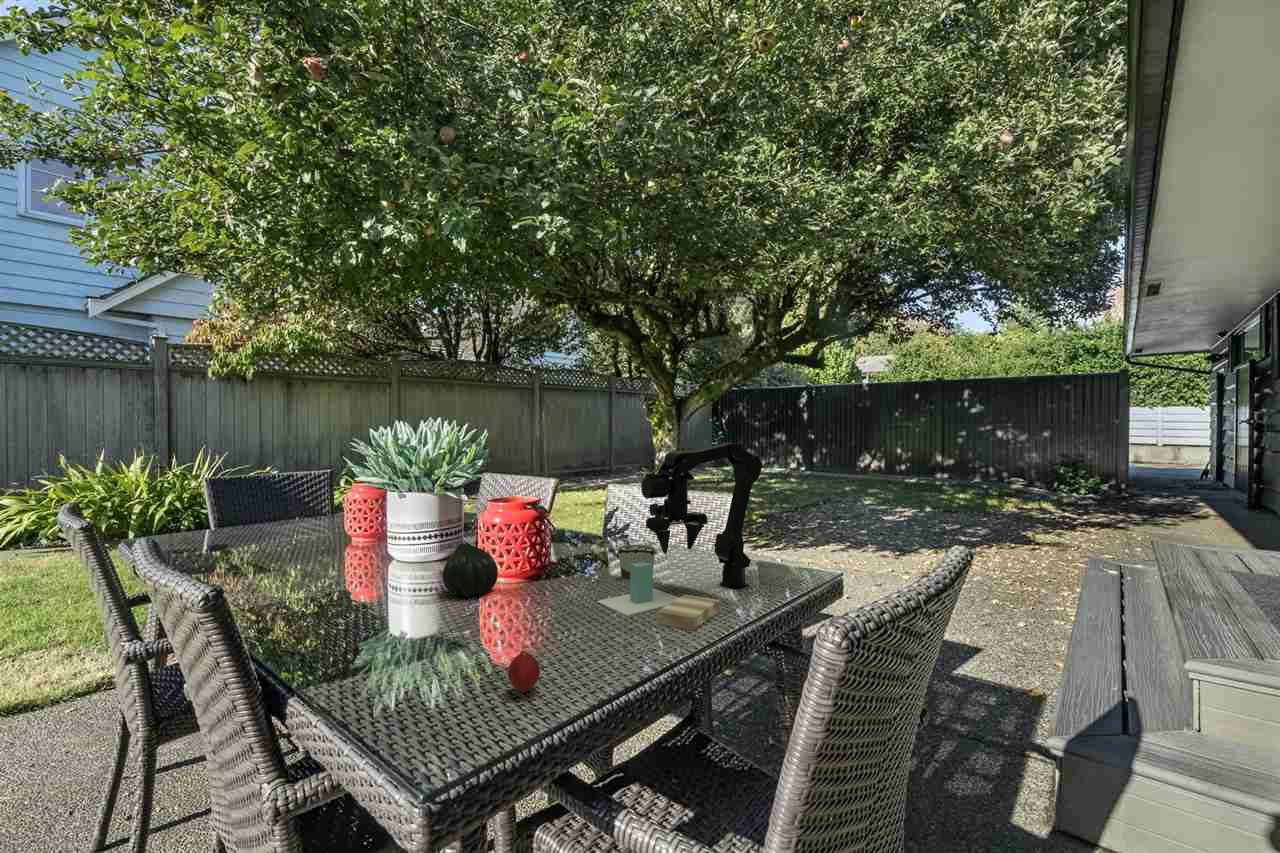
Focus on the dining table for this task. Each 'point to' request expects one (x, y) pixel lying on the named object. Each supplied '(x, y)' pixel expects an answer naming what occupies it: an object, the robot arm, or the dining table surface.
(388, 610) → the dining table surface
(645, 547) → the food container
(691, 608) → the plate
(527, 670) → the onion
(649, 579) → the tall teal block
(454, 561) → the squash
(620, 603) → the mat
